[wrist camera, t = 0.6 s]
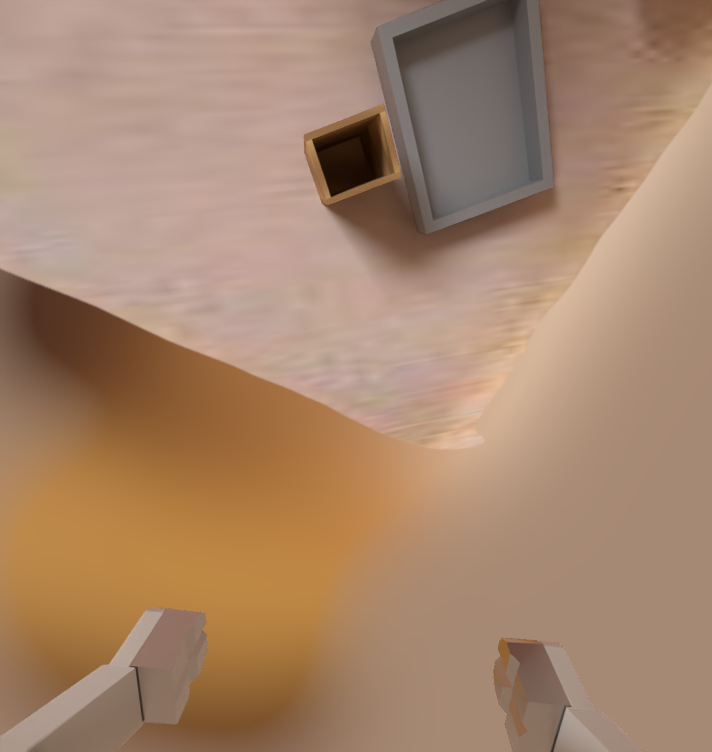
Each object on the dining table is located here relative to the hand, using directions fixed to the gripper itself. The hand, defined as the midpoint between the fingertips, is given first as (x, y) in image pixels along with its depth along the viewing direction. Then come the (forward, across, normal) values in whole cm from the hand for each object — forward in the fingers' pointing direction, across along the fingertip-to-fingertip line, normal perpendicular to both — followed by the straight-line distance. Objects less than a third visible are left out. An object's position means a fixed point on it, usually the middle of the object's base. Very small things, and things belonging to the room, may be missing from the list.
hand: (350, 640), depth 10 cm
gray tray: (+43, -9, -27) cm, 52 cm away
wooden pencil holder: (+42, +5, -21) cm, 47 cm away
